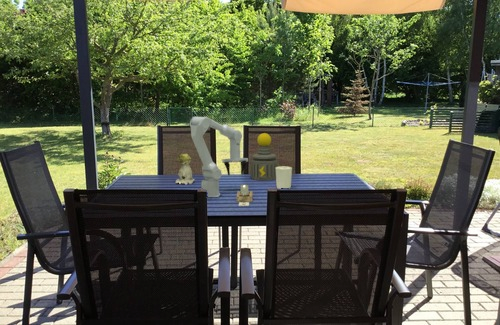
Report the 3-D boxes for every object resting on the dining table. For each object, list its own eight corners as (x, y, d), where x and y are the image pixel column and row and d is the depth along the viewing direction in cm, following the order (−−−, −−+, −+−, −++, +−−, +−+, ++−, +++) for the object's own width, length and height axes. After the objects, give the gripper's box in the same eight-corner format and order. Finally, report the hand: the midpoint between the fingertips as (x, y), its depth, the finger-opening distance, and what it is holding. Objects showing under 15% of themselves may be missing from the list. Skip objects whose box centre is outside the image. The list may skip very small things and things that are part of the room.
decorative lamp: (277, 181, 265) (277, 134, 261) (248, 180, 268) (247, 134, 264) (280, 175, 284) (280, 132, 279) (252, 175, 287) (252, 131, 282)
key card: (238, 205, 205) (238, 205, 205) (239, 202, 211) (239, 202, 211) (248, 205, 205) (248, 205, 205) (249, 202, 211) (249, 202, 211)
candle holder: (277, 185, 252) (277, 166, 250) (293, 186, 249) (293, 166, 248) (273, 188, 243) (273, 168, 241) (290, 189, 240) (290, 169, 238)
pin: (240, 201, 215) (240, 186, 214) (241, 199, 219) (240, 184, 217) (248, 201, 215) (247, 186, 213) (248, 199, 218) (248, 184, 217)
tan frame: (236, 201, 213) (236, 197, 213) (238, 195, 227) (237, 191, 227) (252, 201, 213) (252, 197, 213) (252, 195, 227) (252, 191, 226)
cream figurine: (194, 180, 272) (193, 152, 269) (195, 184, 259) (194, 154, 256) (175, 180, 270) (174, 152, 267) (175, 184, 257) (174, 155, 255)
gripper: (223, 152, 230) (224, 176, 232) (249, 151, 233) (249, 175, 235) (221, 151, 237) (221, 174, 239) (246, 150, 240) (246, 173, 242)
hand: (235, 174), depth 238 cm, fingers open, 7 cm apart
